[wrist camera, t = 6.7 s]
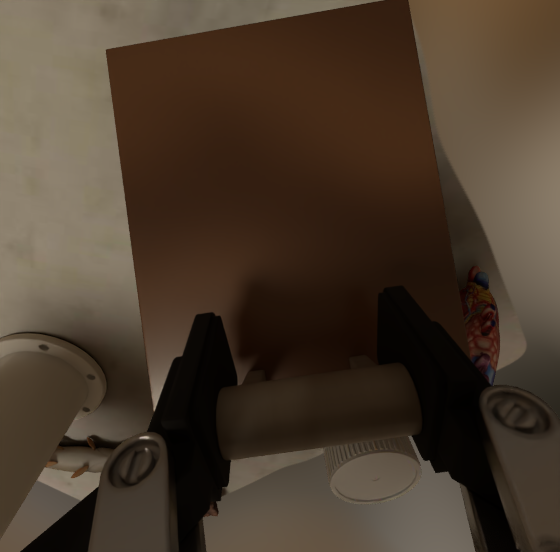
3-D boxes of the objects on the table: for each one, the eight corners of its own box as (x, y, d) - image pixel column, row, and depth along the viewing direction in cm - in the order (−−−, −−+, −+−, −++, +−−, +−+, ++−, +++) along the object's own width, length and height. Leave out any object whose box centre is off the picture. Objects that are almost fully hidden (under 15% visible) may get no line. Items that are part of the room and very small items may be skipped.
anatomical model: (485, 289, 33) (457, 434, 29) (448, 280, 34) (416, 417, 30) (541, 241, 23) (509, 454, 19) (484, 230, 24) (443, 428, 20)
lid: (467, 398, 12) (603, 483, 7) (165, 440, 13) (75, 551, 7) (400, 12, 13) (477, -178, 8) (115, 62, 14) (-1, -87, 8)
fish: (137, 438, 39) (147, 447, 43) (-33, 427, 38) (-8, 437, 42) (124, 479, 36) (136, 485, 40) (-60, 469, 35) (-30, 476, 39)
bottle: (346, 364, 36) (394, 513, 22) (290, 350, 34) (306, 500, 21) (374, 318, 33) (450, 458, 19) (315, 300, 31) (352, 438, 18)
